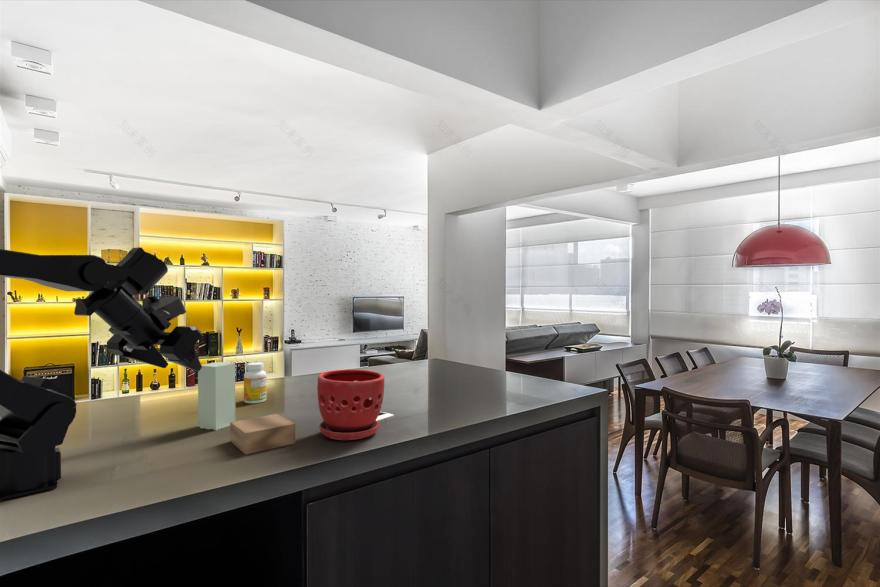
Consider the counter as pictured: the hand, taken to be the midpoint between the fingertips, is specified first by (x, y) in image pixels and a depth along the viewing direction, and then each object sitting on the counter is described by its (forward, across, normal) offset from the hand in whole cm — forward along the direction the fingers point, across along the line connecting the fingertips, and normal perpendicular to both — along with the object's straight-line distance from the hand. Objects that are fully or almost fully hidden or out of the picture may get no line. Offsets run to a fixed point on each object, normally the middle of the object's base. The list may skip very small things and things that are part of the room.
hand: (182, 367), depth 90 cm
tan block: (+12, -17, +7) cm, 22 cm away
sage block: (+15, 0, +4) cm, 16 cm away
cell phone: (+29, -22, -9) cm, 38 cm away
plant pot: (+20, -29, 0) cm, 35 cm away
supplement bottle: (+29, +8, -10) cm, 32 cm away
